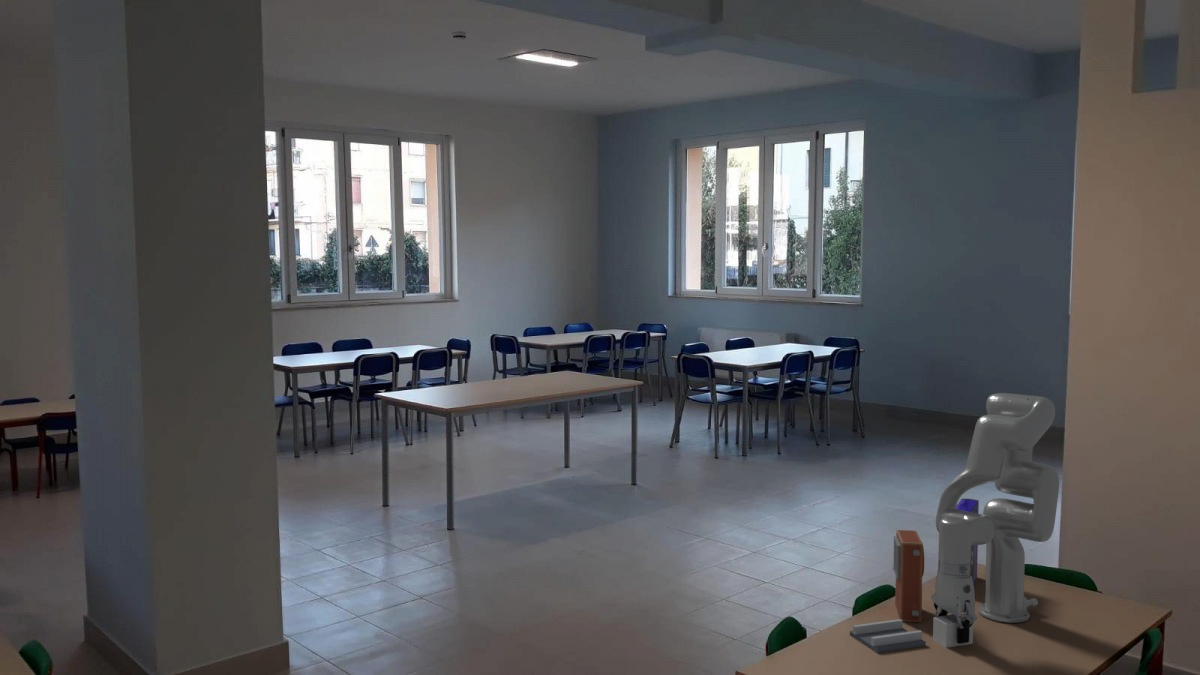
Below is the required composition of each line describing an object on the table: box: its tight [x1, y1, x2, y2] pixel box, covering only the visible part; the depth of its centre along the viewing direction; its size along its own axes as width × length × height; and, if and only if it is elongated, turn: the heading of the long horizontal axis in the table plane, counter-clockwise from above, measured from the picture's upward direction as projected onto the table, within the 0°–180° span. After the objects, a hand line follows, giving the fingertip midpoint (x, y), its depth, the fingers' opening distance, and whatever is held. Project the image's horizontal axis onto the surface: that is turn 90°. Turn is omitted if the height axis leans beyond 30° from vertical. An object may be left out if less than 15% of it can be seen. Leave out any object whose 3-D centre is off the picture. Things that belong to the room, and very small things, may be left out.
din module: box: [932, 614, 974, 649], centre depth 234 cm, size 8×5×6 cm, turn 107°
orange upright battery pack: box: [892, 529, 925, 623], centre depth 253 cm, size 21×7×15 cm
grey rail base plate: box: [849, 618, 927, 654], centre depth 236 cm, size 14×12×3 cm
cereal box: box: [956, 498, 980, 585], centre depth 276 cm, size 17×5×24 cm, turn 149°
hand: (952, 636), depth 234 cm, fingers open, 6 cm apart
